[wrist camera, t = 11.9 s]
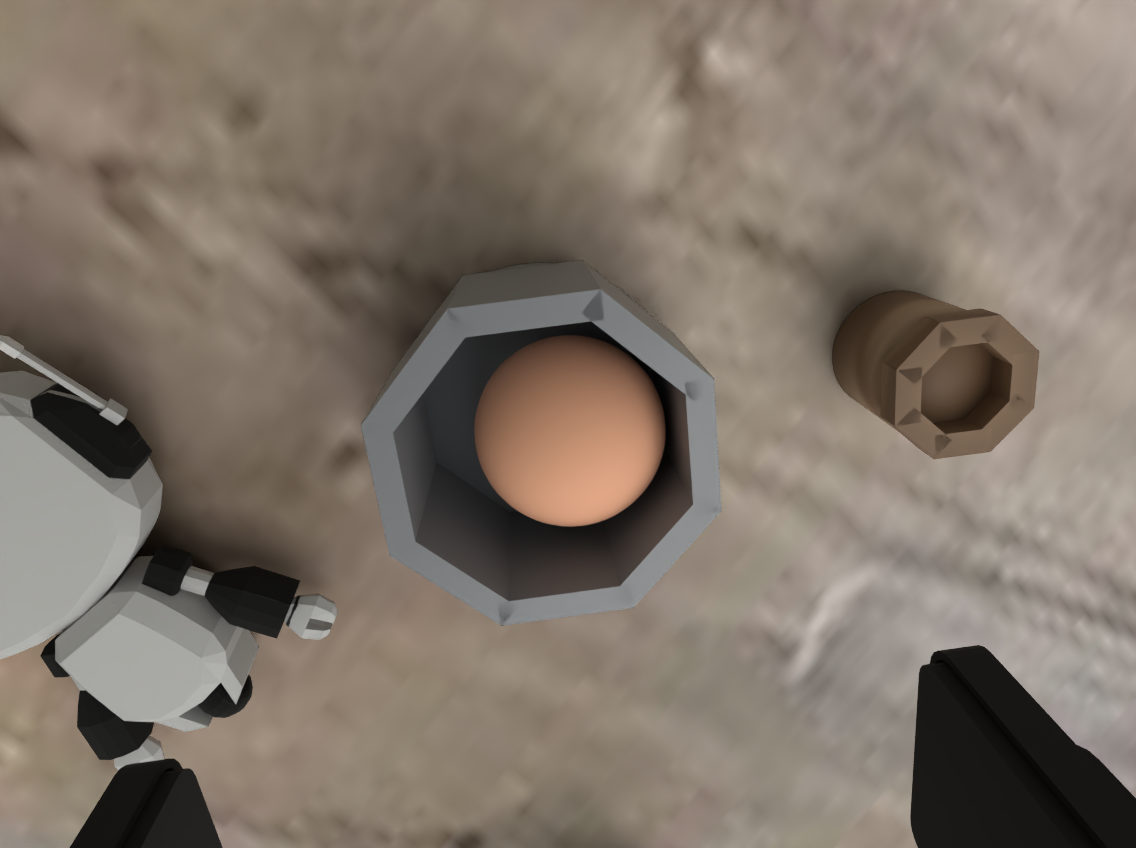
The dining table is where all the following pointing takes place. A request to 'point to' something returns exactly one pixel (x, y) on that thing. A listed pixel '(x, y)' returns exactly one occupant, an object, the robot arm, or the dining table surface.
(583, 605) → the grey octagonal pot
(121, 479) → the robot toy
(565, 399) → the ball
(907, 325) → the stand
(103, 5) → the dining table surface
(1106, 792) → the robot arm
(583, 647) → the dining table surface
